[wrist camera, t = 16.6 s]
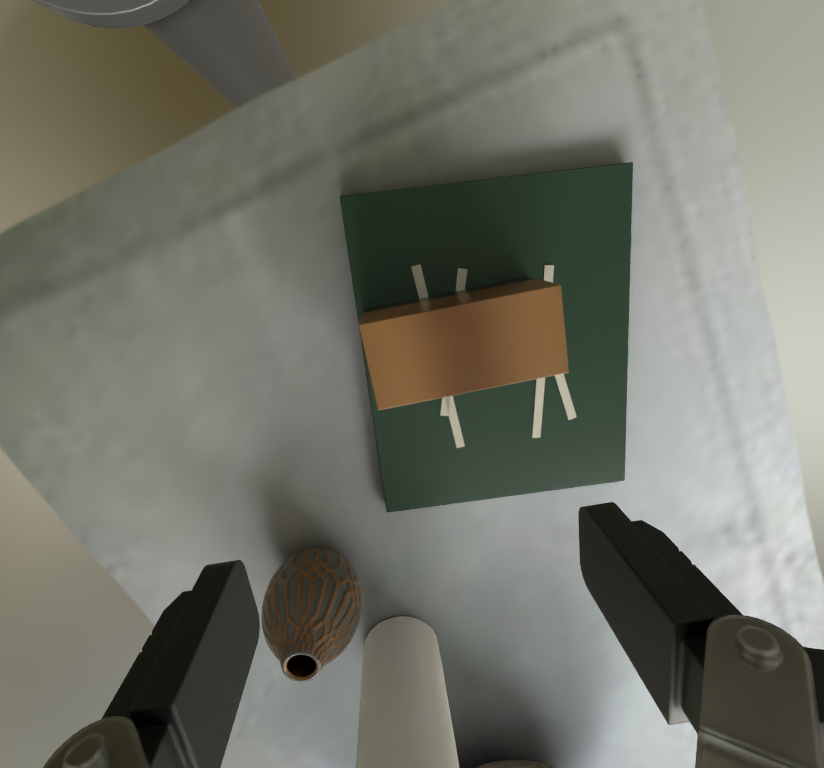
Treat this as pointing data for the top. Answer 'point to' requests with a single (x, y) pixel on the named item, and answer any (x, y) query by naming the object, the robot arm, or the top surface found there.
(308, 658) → the vase
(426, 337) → the eraser
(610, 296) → the slate board
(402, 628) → the mug
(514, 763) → the cooking pot
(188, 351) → the top surface
